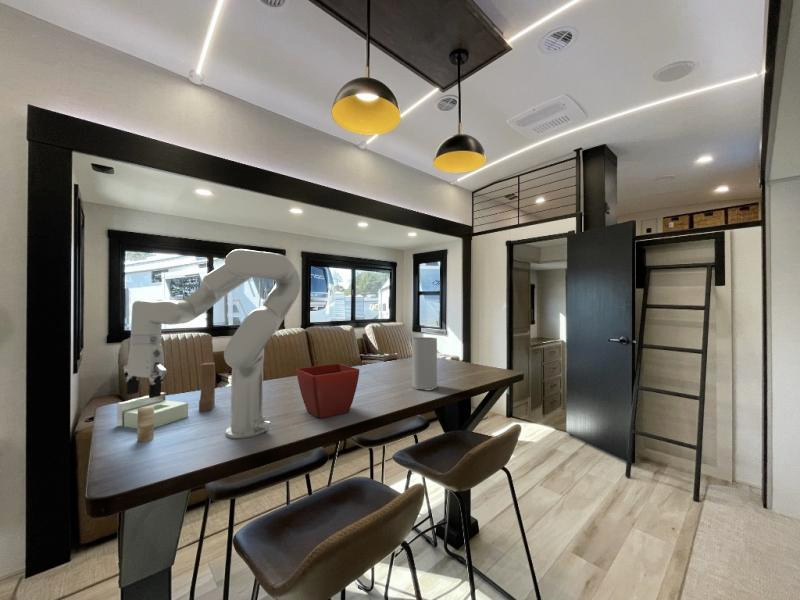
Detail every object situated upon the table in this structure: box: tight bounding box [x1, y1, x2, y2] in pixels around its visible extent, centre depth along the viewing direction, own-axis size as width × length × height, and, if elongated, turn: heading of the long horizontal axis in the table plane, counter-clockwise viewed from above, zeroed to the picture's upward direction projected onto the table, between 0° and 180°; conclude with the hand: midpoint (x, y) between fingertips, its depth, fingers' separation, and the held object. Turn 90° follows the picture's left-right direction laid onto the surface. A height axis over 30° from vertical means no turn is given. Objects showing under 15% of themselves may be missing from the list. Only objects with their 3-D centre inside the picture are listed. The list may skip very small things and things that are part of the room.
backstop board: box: [116, 392, 166, 428], centre depth 119 cm, size 2×15×8 cm, turn 163°
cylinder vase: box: [411, 336, 438, 390], centre depth 165 cm, size 12×12×25 cm
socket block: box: [123, 400, 189, 429], centre depth 117 cm, size 12×14×5 cm
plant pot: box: [295, 363, 360, 419], centre depth 128 cm, size 19×19×17 cm
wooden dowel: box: [136, 406, 155, 443], centre depth 101 cm, size 4×4×10 cm
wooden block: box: [198, 362, 216, 413], centre depth 132 cm, size 9×4×18 cm, turn 24°
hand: (143, 395), depth 101 cm, fingers open, 9 cm apart
